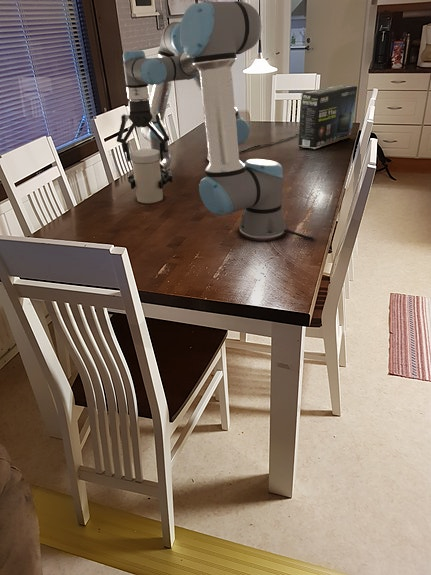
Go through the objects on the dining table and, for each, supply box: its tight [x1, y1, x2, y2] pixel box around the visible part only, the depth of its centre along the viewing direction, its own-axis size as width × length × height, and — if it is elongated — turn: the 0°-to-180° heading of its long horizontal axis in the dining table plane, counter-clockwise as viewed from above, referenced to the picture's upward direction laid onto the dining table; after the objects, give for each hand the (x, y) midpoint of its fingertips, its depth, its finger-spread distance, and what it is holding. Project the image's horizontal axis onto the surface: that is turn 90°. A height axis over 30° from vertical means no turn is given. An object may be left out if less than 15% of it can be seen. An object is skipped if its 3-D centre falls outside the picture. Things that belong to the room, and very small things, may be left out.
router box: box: [297, 84, 358, 151], centre depth 238 cm, size 36×11×27 cm, turn 134°
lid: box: [130, 148, 160, 163], centre depth 172 cm, size 11×11×2 cm
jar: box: [131, 160, 164, 204], centre depth 176 cm, size 10×10×17 cm
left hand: (146, 185), depth 174 cm, fingers closed on jar, 10 cm apart
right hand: (145, 160), depth 173 cm, fingers open, 12 cm apart
